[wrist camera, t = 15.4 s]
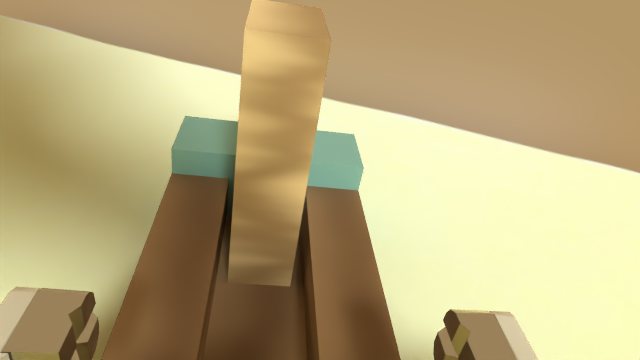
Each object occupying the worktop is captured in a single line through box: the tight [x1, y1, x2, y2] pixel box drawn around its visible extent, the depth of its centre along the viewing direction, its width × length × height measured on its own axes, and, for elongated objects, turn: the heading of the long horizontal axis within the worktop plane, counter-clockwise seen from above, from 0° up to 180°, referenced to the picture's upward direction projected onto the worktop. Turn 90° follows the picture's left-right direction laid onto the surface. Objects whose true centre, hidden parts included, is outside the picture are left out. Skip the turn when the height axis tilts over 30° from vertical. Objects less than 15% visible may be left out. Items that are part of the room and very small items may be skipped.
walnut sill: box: [101, 116, 401, 360], centre depth 21 cm, size 10×20×5 cm, turn 4°
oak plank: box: [228, 0, 331, 286], centre depth 21 cm, size 3×5×12 cm, turn 4°
